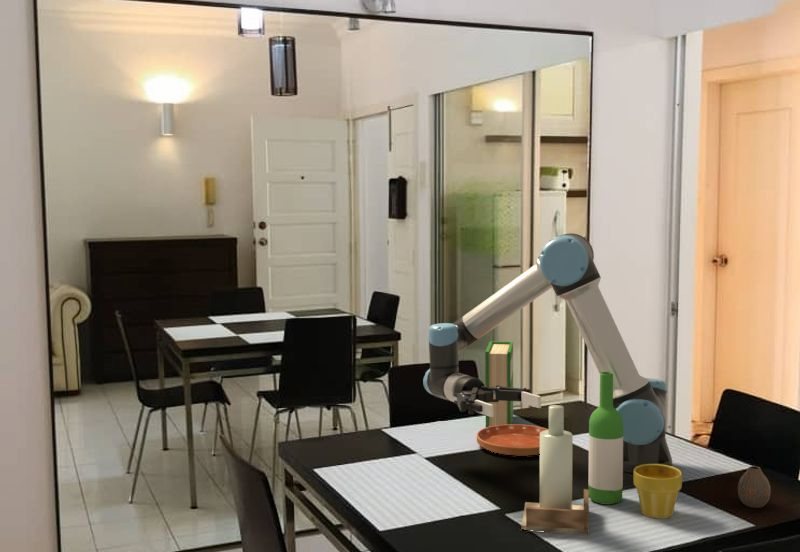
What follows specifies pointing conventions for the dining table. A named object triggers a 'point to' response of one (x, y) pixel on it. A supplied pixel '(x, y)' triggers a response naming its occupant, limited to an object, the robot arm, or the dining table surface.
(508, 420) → the hardback book
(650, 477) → the plant pot
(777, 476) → the dining table surface
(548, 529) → the dock
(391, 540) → the dining table surface
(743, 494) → the vase
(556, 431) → the bottle
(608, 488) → the wine bottle
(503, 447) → the saucer
